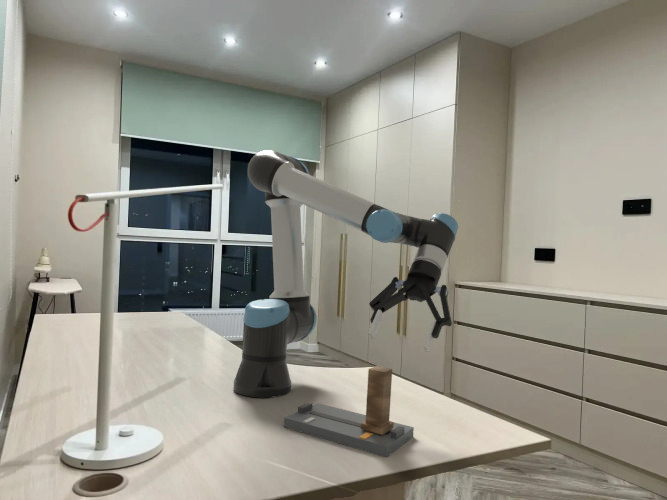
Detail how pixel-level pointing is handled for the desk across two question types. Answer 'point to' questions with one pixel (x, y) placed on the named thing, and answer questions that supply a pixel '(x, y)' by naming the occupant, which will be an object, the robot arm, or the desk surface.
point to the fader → (378, 401)
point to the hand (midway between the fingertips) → (397, 342)
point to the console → (346, 428)
